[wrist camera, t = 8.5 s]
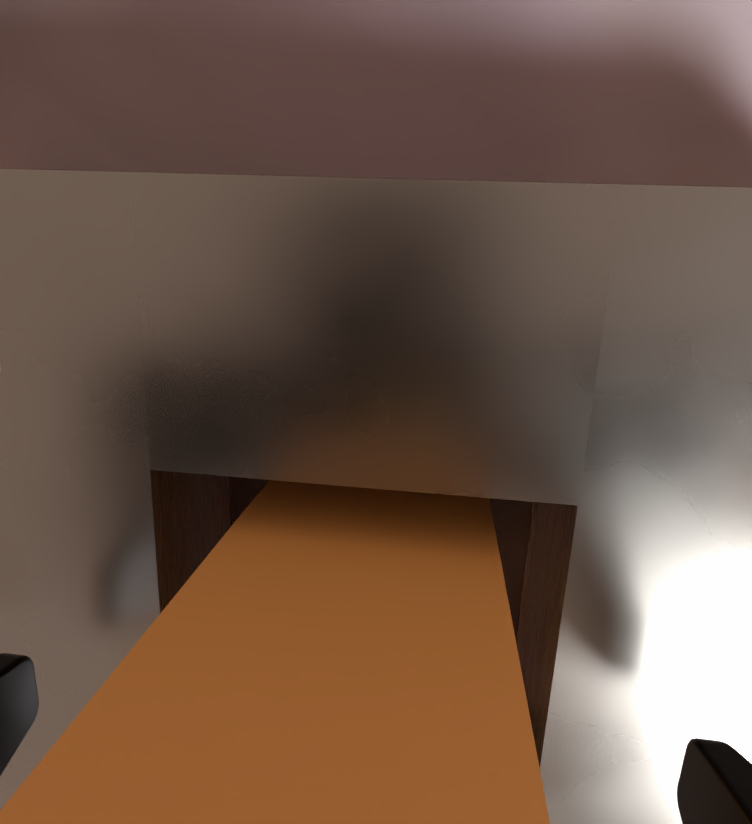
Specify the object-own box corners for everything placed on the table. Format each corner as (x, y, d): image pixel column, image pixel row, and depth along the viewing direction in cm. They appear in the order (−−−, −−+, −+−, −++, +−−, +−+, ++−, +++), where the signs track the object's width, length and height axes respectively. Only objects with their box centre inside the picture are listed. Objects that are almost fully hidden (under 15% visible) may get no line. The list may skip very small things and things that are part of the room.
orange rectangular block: (485, 480, 11) (589, 1029, 3) (467, 658, 12) (508, 1399, 4) (282, 463, 11) (-79, 908, 3) (281, 636, 12) (5, 1270, 5)
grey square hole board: (828, 216, 9) (1011, 193, 6) (672, 877, 13) (740, 1060, 10) (12, 192, 10) (-155, 165, 7) (84, 790, 14) (-9, 926, 11)
